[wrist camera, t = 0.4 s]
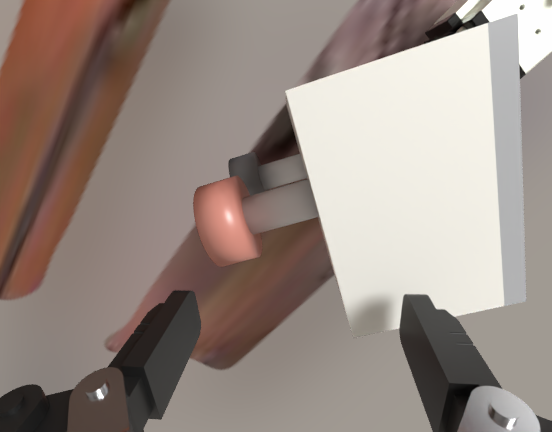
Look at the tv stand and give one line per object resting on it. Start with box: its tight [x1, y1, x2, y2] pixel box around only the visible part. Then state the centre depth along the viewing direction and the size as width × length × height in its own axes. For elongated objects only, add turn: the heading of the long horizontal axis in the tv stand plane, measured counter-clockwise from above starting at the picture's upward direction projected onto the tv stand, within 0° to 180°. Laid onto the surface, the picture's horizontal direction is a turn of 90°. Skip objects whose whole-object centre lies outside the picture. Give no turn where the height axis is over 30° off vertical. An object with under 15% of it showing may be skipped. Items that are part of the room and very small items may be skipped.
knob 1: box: [229, 152, 307, 196], centre depth 24 cm, size 4×8×4 cm, turn 107°
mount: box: [285, 13, 526, 338], centre depth 20 cm, size 10×7×20 cm
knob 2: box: [193, 176, 319, 267], centre depth 15 cm, size 4×8×4 cm, turn 107°
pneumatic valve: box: [424, 0, 552, 79], centre depth 20 cm, size 6×12×12 cm, turn 136°
